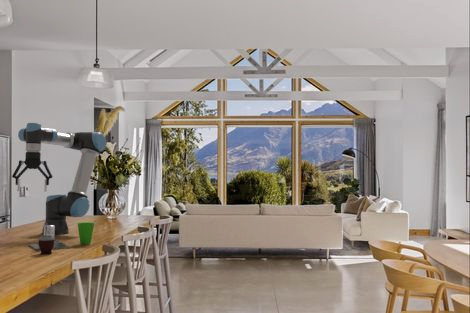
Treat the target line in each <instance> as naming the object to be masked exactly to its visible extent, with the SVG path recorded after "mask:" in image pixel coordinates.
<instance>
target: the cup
mask: <svg viewBox="0 0 470 313" xmlns="http://www.w3.org/2000/svg"><path fill="white" fill-rule="evenodd" d="M76 224H77V229H78V230H77V231H78V236H79V243H80V245H81V244H89V245H91V243H92V237H93V233H94V229H95V228H94V227H95V222H91V221H90V222H89V221H84V222H77V223H76Z"/></svg>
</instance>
